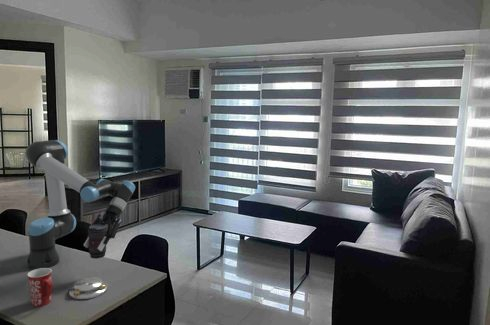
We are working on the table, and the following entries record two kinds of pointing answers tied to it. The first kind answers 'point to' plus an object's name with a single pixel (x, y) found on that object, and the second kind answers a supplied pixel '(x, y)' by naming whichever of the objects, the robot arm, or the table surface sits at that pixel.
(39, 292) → the mug
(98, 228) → the camera lens
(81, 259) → the table surface
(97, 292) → the base
